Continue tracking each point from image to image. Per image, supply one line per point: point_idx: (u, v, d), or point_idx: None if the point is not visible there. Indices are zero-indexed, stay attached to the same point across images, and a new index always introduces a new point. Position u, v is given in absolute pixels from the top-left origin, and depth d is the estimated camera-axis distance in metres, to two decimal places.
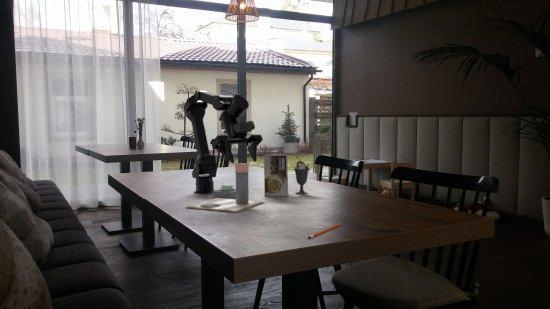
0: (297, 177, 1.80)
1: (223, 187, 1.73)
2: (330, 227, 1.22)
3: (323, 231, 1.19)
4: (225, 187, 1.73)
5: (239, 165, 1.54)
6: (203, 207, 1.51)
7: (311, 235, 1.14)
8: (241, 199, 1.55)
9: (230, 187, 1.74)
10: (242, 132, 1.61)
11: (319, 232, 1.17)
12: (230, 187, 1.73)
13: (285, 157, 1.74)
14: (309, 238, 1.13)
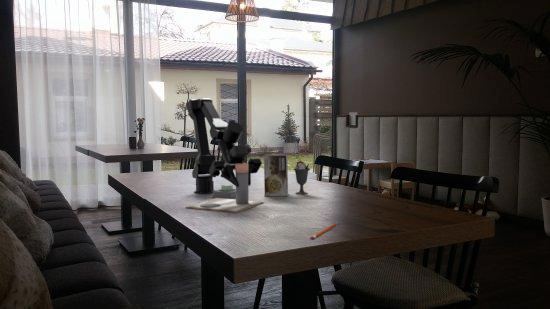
0: (297, 177, 1.80)
1: (223, 187, 1.73)
2: (328, 227, 1.23)
3: (323, 231, 1.19)
4: (225, 187, 1.73)
5: (239, 165, 1.54)
6: (203, 207, 1.51)
7: (314, 235, 1.14)
8: (241, 199, 1.55)
9: (230, 187, 1.74)
10: (239, 156, 1.59)
11: (320, 232, 1.17)
12: (230, 187, 1.73)
13: (285, 157, 1.74)
14: (312, 238, 1.12)
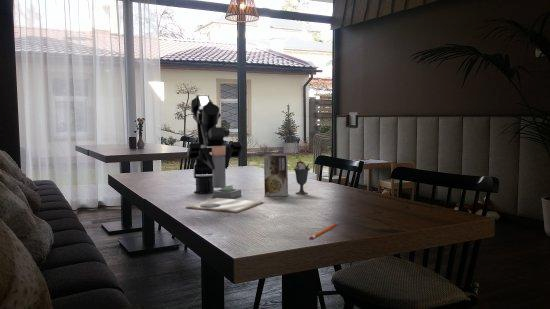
0: (297, 177, 1.80)
1: None
2: (329, 227, 1.23)
3: (323, 231, 1.19)
4: (225, 187, 1.73)
5: (215, 147, 1.51)
6: (203, 207, 1.51)
7: (313, 235, 1.14)
8: (217, 182, 1.52)
9: (230, 187, 1.74)
10: (217, 139, 1.56)
11: (319, 232, 1.17)
12: (230, 187, 1.73)
13: (285, 157, 1.74)
14: (311, 238, 1.13)
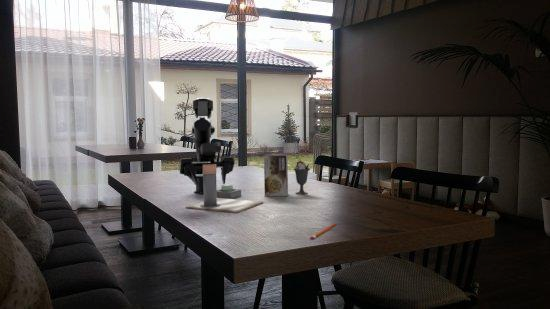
0: (297, 177, 1.80)
1: (223, 187, 1.73)
2: (328, 227, 1.23)
3: (323, 231, 1.19)
4: (225, 187, 1.73)
5: (205, 166, 1.51)
6: (203, 207, 1.51)
7: None
8: (207, 201, 1.52)
9: (230, 187, 1.74)
10: (209, 154, 1.55)
11: (320, 232, 1.17)
12: (230, 187, 1.73)
13: (285, 157, 1.74)
14: (312, 238, 1.12)
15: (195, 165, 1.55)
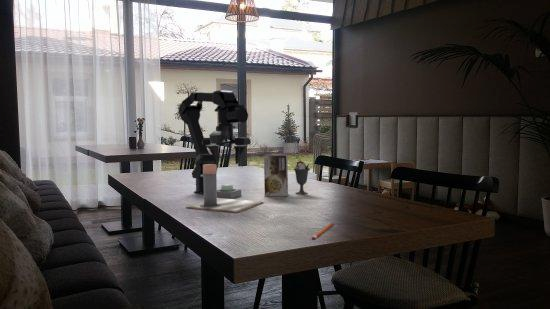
0: (297, 177, 1.80)
1: (223, 187, 1.73)
2: (326, 227, 1.23)
3: (322, 231, 1.19)
4: (225, 187, 1.73)
5: (205, 166, 1.51)
6: (203, 207, 1.51)
7: None
8: (207, 201, 1.52)
9: (230, 187, 1.74)
10: None
11: (320, 232, 1.17)
12: (230, 187, 1.73)
13: (285, 157, 1.74)
14: None
15: (216, 142, 1.75)
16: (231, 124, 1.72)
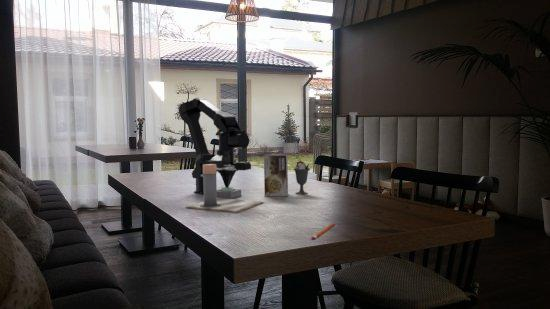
0: (297, 177, 1.80)
1: (223, 189, 1.73)
2: (327, 227, 1.23)
3: (323, 231, 1.19)
4: (225, 189, 1.73)
5: (205, 166, 1.51)
6: (203, 207, 1.51)
7: None
8: (207, 201, 1.52)
9: (230, 189, 1.74)
10: None
11: (320, 232, 1.17)
12: (230, 189, 1.73)
13: (285, 157, 1.74)
14: None
15: None
16: (232, 148, 1.73)
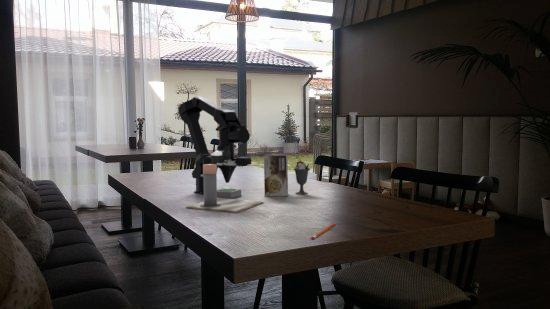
0: (297, 177, 1.80)
1: (223, 190, 1.73)
2: (328, 227, 1.23)
3: (323, 231, 1.19)
4: (225, 190, 1.73)
5: (205, 166, 1.51)
6: (203, 207, 1.51)
7: (314, 236, 1.14)
8: (207, 201, 1.52)
9: (230, 190, 1.74)
10: None
11: (320, 232, 1.17)
12: (230, 190, 1.73)
13: (285, 157, 1.74)
14: None
15: None
16: (232, 144, 1.72)
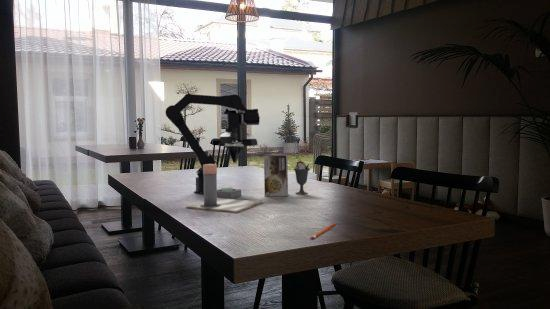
0: (297, 177, 1.80)
1: (223, 190, 1.73)
2: (328, 227, 1.23)
3: (323, 231, 1.19)
4: (225, 190, 1.73)
5: (205, 166, 1.51)
6: (203, 207, 1.51)
7: (314, 235, 1.14)
8: (207, 201, 1.52)
9: (230, 190, 1.74)
10: None
11: (320, 232, 1.17)
12: (230, 190, 1.73)
13: (285, 157, 1.74)
14: None
15: (225, 143, 1.89)
16: (239, 126, 1.85)
